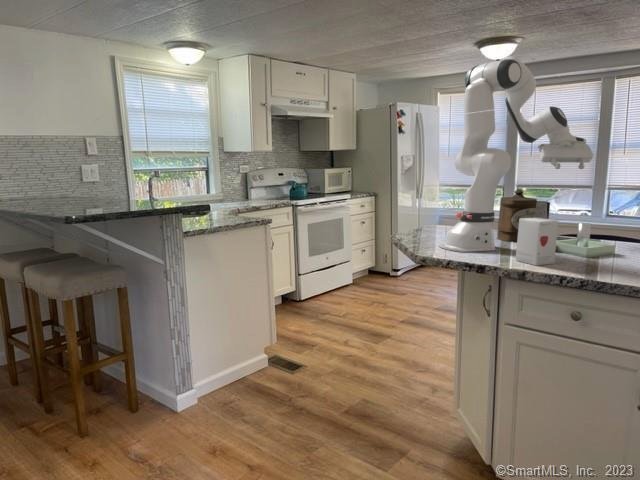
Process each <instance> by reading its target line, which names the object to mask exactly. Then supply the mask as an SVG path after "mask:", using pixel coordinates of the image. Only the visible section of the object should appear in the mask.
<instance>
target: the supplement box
mask: <svg viewBox="0 0 640 480" xmlns="http://www.w3.org/2000/svg"><path fill="white" fill-rule="evenodd" d="M558 229H559V220H557V219H550V218H549V219H545V218H520V219H519V229H518V240H517V242H516V253H515V261H516V262H517V261H518V262H521V263H526V264H529V265H533V266H543V265H553V264H555V259H556V258H555V257H556V252H555V250H556V241H558V240H557V237H558Z"/></svg>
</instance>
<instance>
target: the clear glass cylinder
mask: <svg viewBox="0 0 640 480" xmlns="http://www.w3.org/2000/svg"><path fill="white" fill-rule="evenodd" d="M577 225H578V226H577V235H576V239H577V241H576V246H581V247H589V240H591V239H590V237H591V228H592V223H591V222H590V223H589V222H579V223H577Z"/></svg>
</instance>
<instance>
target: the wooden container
mask: <svg viewBox="0 0 640 480" xmlns="http://www.w3.org/2000/svg"><path fill="white" fill-rule="evenodd" d="M523 193H524V190H522V189H517V188H516V189H515V190H514V195H513V196H505V197H504V196H503V197H501V198H500V200H499V201H500V204H499V205H500V206H499V211H498V213H499V214H498V224H497V238H496V239H498V240H499V241H503V242H509V243H510V242H512V243H517V240H518V229H519V219H520V218H535V217H536V204H537V201H538V200H537V198H534V197H525V196H524V194H523Z"/></svg>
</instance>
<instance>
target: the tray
mask: <svg viewBox="0 0 640 480" xmlns="http://www.w3.org/2000/svg"><path fill="white" fill-rule="evenodd" d="M576 241H577V238H571V239H563V240H562V239H560V240H556V245H557V246H558V247H557V252H556V253H561V254H566V255H571V256H575V257H581V258H595V257H601V256H610V255H615V253H616V244H612V243H606V242H600V241H596V240H591V239H589V247H581V246H576Z"/></svg>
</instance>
